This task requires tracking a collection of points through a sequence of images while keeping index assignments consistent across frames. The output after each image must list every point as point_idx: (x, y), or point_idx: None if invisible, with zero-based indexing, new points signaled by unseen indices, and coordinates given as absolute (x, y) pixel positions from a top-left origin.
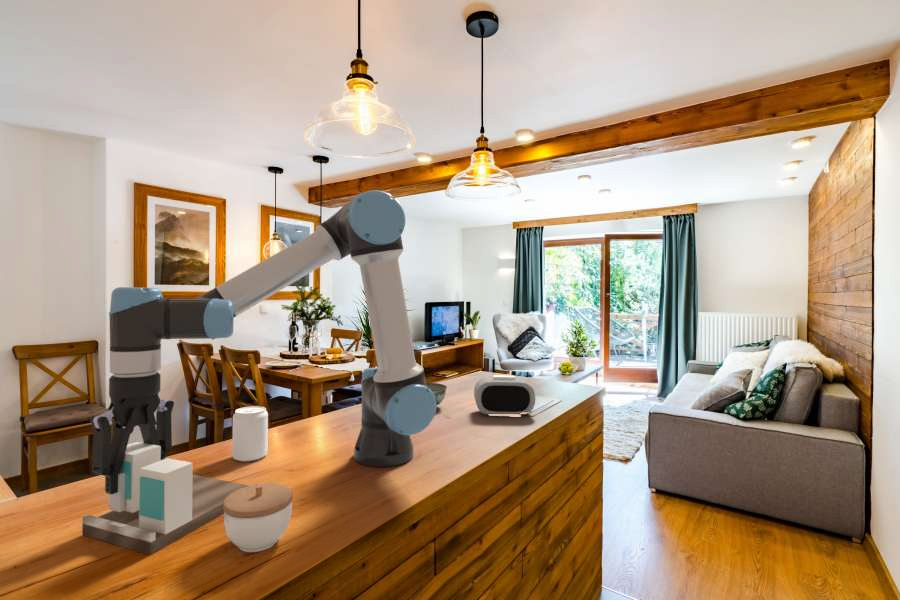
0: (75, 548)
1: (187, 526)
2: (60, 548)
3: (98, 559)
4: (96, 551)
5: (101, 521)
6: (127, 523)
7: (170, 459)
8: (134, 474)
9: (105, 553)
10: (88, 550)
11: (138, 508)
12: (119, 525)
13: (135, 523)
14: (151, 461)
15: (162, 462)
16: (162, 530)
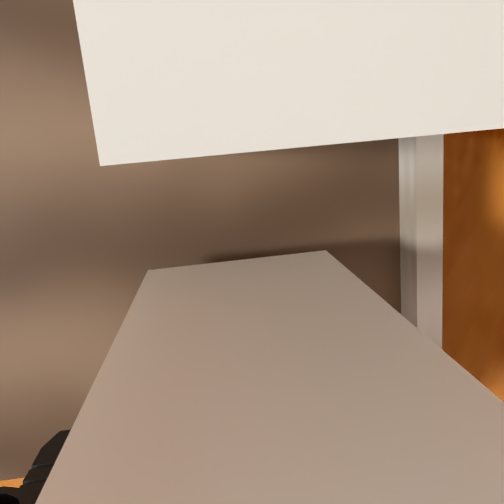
0: (471, 308)
1: None
2: (490, 357)
3: (494, 133)
4: (458, 208)
5: (440, 310)
6: (339, 239)
7: (112, 12)
8: (424, 351)
9: (455, 156)
10: (464, 246)
11: (292, 257)
12: (436, 177)
13: (324, 200)
14: (218, 426)
15: (307, 2)
16: None
